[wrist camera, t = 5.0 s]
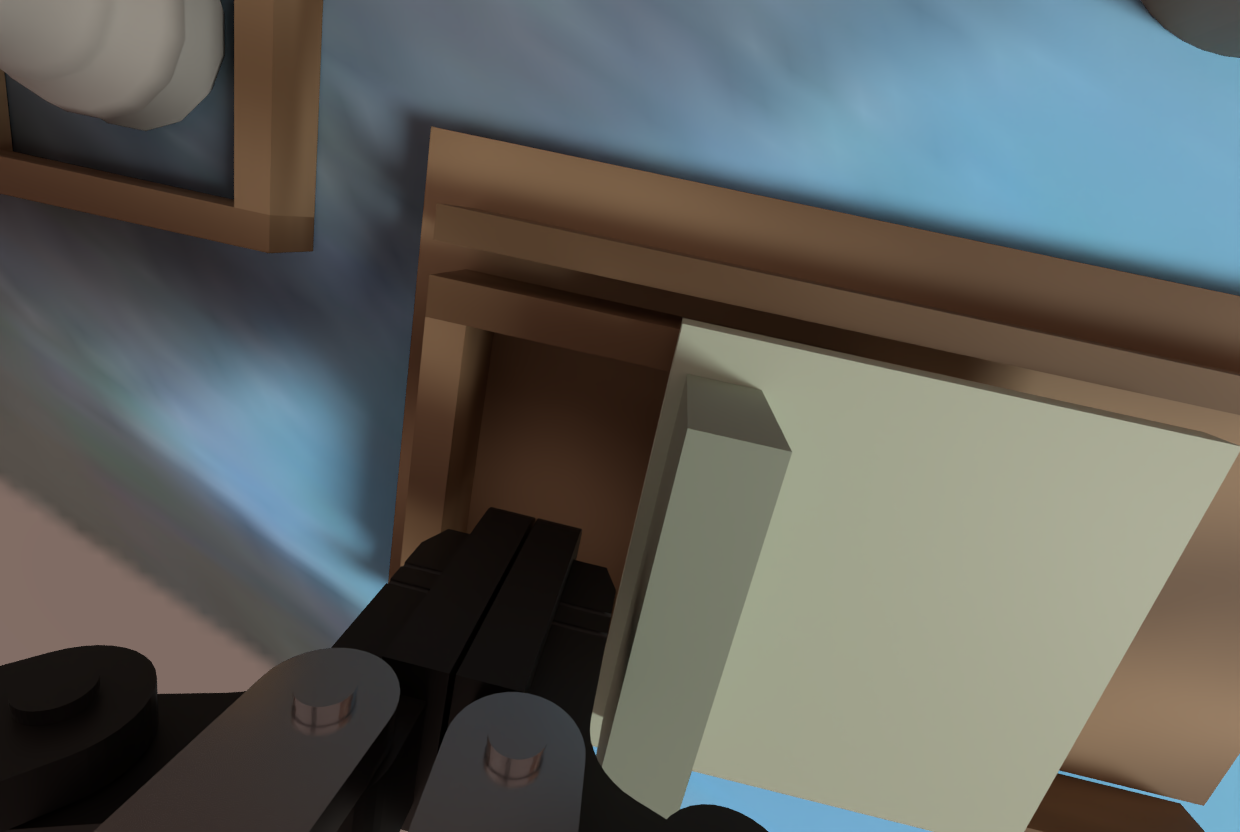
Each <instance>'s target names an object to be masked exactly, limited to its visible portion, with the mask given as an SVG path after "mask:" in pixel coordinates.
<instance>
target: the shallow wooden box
mask: <svg viewBox="0 0 1240 832" xmlns="http://www.w3.org/2000/svg"><path fill="white" fill-rule="evenodd" d="M683 318H686V319H691V320H696V321H700V322H705V323H709V324H714V325H718V326H723V327H727V328H732V329H737V330H741V331H746V332H750V333H755V334H759V335H764V336H768V337H773V338H778V339H782V340H787V341H791V342H796V343H800V344H805V345H809V346H814V347H819V348H823V349H828V350H832V351H837V352H841V353H846V354H850V355H855V356H860V357H864V358H869V359H873V360H878V361H882V362H887V363H891V364H896V365H901V366H905V367H910V368H914V369H919V370H923V371H928V372H932V373H937V374H942V375H946V376H951V377H955V378H960V379H964V380H969V381H973V382H978V383H983V384H987V385H992V386H996V387H1001V388H1005V389H1010V390H1014V391H1019V392H1024V393H1028V394H1033V395H1037V396H1042V397H1046V398H1051V399H1055V400H1060V401H1065V402H1069V403H1074V404H1078V405H1083V406H1087V407H1092V408H1097V409H1101V410H1106V411H1110V412H1115V413H1119V414H1124V415H1128V416H1133V417H1138V418H1142V419H1147V420H1151V421H1156V422H1160V423H1165V424H1169V425H1174V426H1179V427H1183V428H1188V429H1192V430H1197V431H1201V432H1205V433H1207V434H1210V435H1213V436H1215V437H1218V438H1221V439H1223V440H1226V441H1229V442H1231V443H1234V444H1236V445H1239V446H1240V296H1237V295H1232V294H1227V293H1222V292H1217V291H1213V290H1208V289H1203V288H1198V287H1194V286H1189V285H1184V284H1179V283H1175V282H1170V281H1165V280H1160V279H1155V278H1151V277H1146V276H1141V275H1136V274H1132V273H1127V272H1122V271H1117V270H1113V269H1108V268H1103V267H1098V266H1094V265H1089V264H1084V263H1079V262H1074V261H1070V260H1065V259H1060V258H1055V257H1051V256H1046V255H1041V254H1036V253H1032V252H1027V251H1022V250H1017V249H1012V248H1008V247H1003V246H998V245H993V244H989V243H984V242H979V241H974V240H970V239H965V238H960V237H955V236H951V235H946V234H941V233H936V232H931V231H927V230H922V229H917V228H912V227H908V226H903V225H898V224H893V223H889V222H884V221H879V220H874V219H870V218H865V217H860V216H855V215H850V214H846V213H841V212H836V211H831V210H827V209H822V208H817V207H812V206H808V205H803V204H798V203H793V202H788V201H784V200H779V199H774V198H769V197H765V196H760V195H755V194H750V193H746V192H741V191H736V190H731V189H727V188H722V187H717V186H712V185H707V184H703V183H698V182H693V181H688V180H684V179H679V178H674V177H669V176H665V175H660V174H655V173H650V172H645V171H641V170H636V169H631V168H626V167H622V166H617V165H612V164H607V163H603V162H598V161H593V160H588V159H584V158H579V157H574V156H569V155H564V154H560V153H555V152H550V151H545V150H541V149H536V148H531V147H526V146H522V145H517V144H512V143H507V142H503V141H498V140H493V139H488V138H483V137H479V136H474V135H469V134H464V133H460V132H455V131H450V130H445V129H441V128H436V127H431V134H430V145H429V155H428V166H427V177H426V187H425V198H424V208H423V219H422V230H421V240H420V251H419V261H418V272H417V283H416V293H415V304H414V315H413V325H412V336H411V346H410V357H409V368H408V378H407V389H406V399H405V410H404V421H403V431H402V442H401V452H400V463H399V474H398V484H397V495H396V506H395V516H394V527H393V537H392V548H391V559H390V569H389V580H388V584H389V582H390V579H391V577H392V576H393V575H394V574H395V573H396V572H397V570H398V569H399V568H400V567H401V566H404V563H405V561H406V560H407V559H408V558H409V556H410V555H411V554H412V553H413V552H414V551H415V549H416V548H417V547H418V546H419V545H420V544H421V542H423V541H425V540H427V539H429V538H431V537H433V536H435V535H437V534H439V533H441V532H443V531H445V530H447V529H451V530H456V531H460V532H464V533H468V534H470V533H471V532H472V530H473V529H474V528H475V526H476V525H477V523H478V522H479V521H480V519H481V518H482V516H483V515H484V514H485V512H486V511H487V510H488V508H490V507H494V508H498V509H503V510H507V511H511V512H515V513H519V514H523V515H527V516H531V517H535V519H536V520H537V519H538V518H540V519H544V520H548V521H552V522H556V523H560V524H564V525H568V526H572V527H576V528H580V529H582V535H581V540H580V545H579V549H578V554H577V559H576V560H577V561H581V562H585V563H589V564H593V565H597V566H601V567H605V568H607V570H608V572H609V575H610V577H611V579H612V582H613V584H614V587H615V589H616V593H615V598H614V604H613V609H612V614H611V619H610V624H609V629H610V625H611V620H612V616H613V612H614V608H615V603H616V599H617V595H618V591H619V586H620V582H621V578H622V574H623V569H624V565H625V561H626V557H627V552H628V548H629V544H630V540H631V535H632V531H633V527H634V523H635V518H636V514H637V510H638V506H639V501H640V497H641V493H642V489H643V485H644V480H645V476H646V472H647V468H648V463H649V459H650V455H651V451H652V446H653V442H654V438H655V434H656V429H657V425H658V421H659V417H660V412H661V408H662V404H663V400H664V395H665V391H666V387H667V383H668V378H669V374H670V370H671V366H672V361H673V357H674V353H675V349H676V344H677V340H678V336H679V332H680V327H681V323H682V319H683ZM609 629H608V633H609ZM607 637H608V634H607ZM606 642H607V640H606ZM605 646H606V645H605ZM1239 754H1240V452H1239V454H1238V456H1237V458H1236V459H1235V461H1234V463H1233V465H1232V466H1231V468H1230V470H1229V472H1228V473H1227V475H1226V477H1225V479H1224V480H1223V482H1222V484H1221V486H1220V488H1219V489H1218V491H1217V493H1216V495H1215V496H1214V498H1213V500H1212V502H1211V503H1210V505H1209V507H1208V509H1207V510H1206V512H1205V514H1204V516H1203V517H1202V519H1201V521H1200V523H1199V525H1198V526H1197V528H1196V530H1195V532H1194V533H1193V535H1192V537H1191V539H1190V540H1189V542H1188V544H1187V546H1186V547H1185V549H1184V551H1183V553H1182V554H1181V556H1180V558H1179V560H1178V562H1177V563H1176V565H1175V567H1174V569H1173V570H1172V572H1171V574H1170V576H1169V577H1168V579H1167V581H1166V583H1165V584H1164V586H1163V588H1162V590H1161V591H1160V593H1159V595H1158V597H1157V599H1156V600H1155V602H1154V604H1153V606H1152V607H1151V609H1150V611H1149V613H1148V614H1147V616H1146V618H1145V620H1144V621H1143V623H1142V625H1141V627H1140V628H1139V630H1138V632H1137V634H1136V636H1135V637H1134V639H1133V641H1132V643H1131V644H1130V646H1129V648H1128V650H1127V651H1126V653H1125V655H1124V657H1123V658H1122V660H1121V662H1120V664H1119V665H1118V667H1117V669H1116V671H1115V673H1114V674H1113V676H1112V678H1111V680H1110V681H1109V683H1108V685H1107V687H1106V688H1105V690H1104V692H1103V694H1102V695H1101V697H1100V699H1099V701H1098V702H1097V704H1096V706H1095V708H1094V710H1093V711H1092V713H1091V715H1090V717H1089V718H1088V720H1087V722H1086V724H1085V725H1084V727H1083V729H1082V731H1081V732H1080V734H1079V736H1078V738H1077V739H1076V741H1075V743H1074V745H1073V747H1072V748H1071V750H1070V752H1069V754H1068V755H1067V757H1066V759H1065V761H1064V762H1063V764H1062V766H1061V768H1060V769H1059V770H1060V771H1064V772H1068V773H1072V774H1076V775H1080V776H1085V777H1089V778H1093V779H1097V780H1101V781H1105V782H1109V783H1113V784H1117V785H1121V786H1125V787H1129V788H1134V789H1138V790H1142V791H1146V792H1150V793H1154V794H1158V795H1162V796H1166V797H1170V798H1174V799H1179V800H1183V801H1187V802H1191V803H1195V804H1199V805H1203V806H1204V805H1205V803H1206V802H1207V800H1208V799H1209V797H1210V796H1211V795H1212V793H1213V792H1214V790H1215V789H1216V787H1217V786H1218V784H1219V783H1220V781H1221V780H1222V778H1223V777H1224V775H1225V774H1226V773H1227V771H1228V770H1229V768H1230V767H1231V765H1232V764H1233V762H1234V761H1235V759H1236V758H1237V756H1238V755H1239ZM1024 832H1205V831H1204V830H1203V829H1202V828H1201V827H1200V826H1199V825H1198V823H1197V822H1196V821H1195V820H1194V819H1193V818H1192V817H1191V815H1190V814H1189V813H1188V812H1187V811H1186V810H1185V809H1184V807H1183V806H1182V805H1181V804H1180V803H1176V802H1172V801H1168V800H1164V799H1160V798H1156V797H1151V796H1147V795H1143V794H1139V793H1135V792H1131V791H1127V790H1123V789H1119V788H1115V787H1111V786H1107V785H1103V784H1098V783H1094V782H1090V781H1086V780H1082V779H1078V778H1074V777H1070V776H1066V775H1062V774H1058V773H1057V775H1056V776H1055V778H1054V780H1053V782H1052V784H1051V785H1050V787H1049V789H1048V791H1047V792H1046V794H1045V796H1044V798H1043V799H1042V801H1041V803H1040V805H1039V806H1038V808H1037V810H1036V812H1035V813H1034V815H1033V817H1032V819H1031V821H1030V822H1029V824H1028V826H1027V828H1026V829H1025V831H1024Z"/></svg>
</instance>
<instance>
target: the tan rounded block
mask: <svg viewBox="0 0 1240 832" xmlns="http://www.w3.org/2000/svg"><path fill="white" fill-rule="evenodd" d="M1141 2H1142V3H1143V4H1144V6H1145V7H1146V9H1147V10H1148V11H1149V13H1150V14H1151V15H1152V16H1153V17H1154V18H1155V19H1156V20H1157V21H1158V22H1159V23H1160V24H1161V25H1162V26H1163V27H1164V28H1165V29H1166V30H1168V31H1169V32H1171V33H1172V34H1174V35H1175V36H1177V37H1178V38H1179V39H1181V40H1182V41H1184V42H1186V43H1188V44H1191V45H1193V46H1195V47H1197V48H1199V49H1201V50H1204V51H1208V52H1211V53H1215V54H1219V55H1222V56H1228V57H1237V58H1240V0H1141Z"/></svg>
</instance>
